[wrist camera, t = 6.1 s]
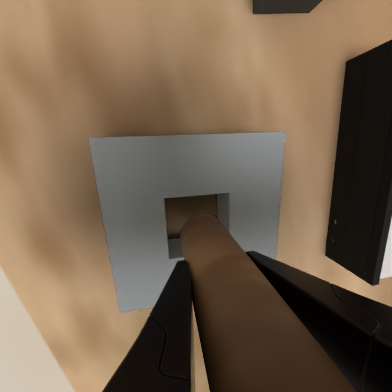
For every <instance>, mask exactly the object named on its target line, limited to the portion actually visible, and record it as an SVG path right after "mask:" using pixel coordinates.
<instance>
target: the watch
mask: <svg viewBox="0 0 392 392" xmlns="http://www.w3.org/2000/svg"><path fill="white" fill-rule="evenodd" d="M321 1H322V0H253V14H276V13H309V12H310V11H311V10H313V9H314V8H315V7H316V6H317V5H318V4H319V3H320V2H321Z"/></svg>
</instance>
